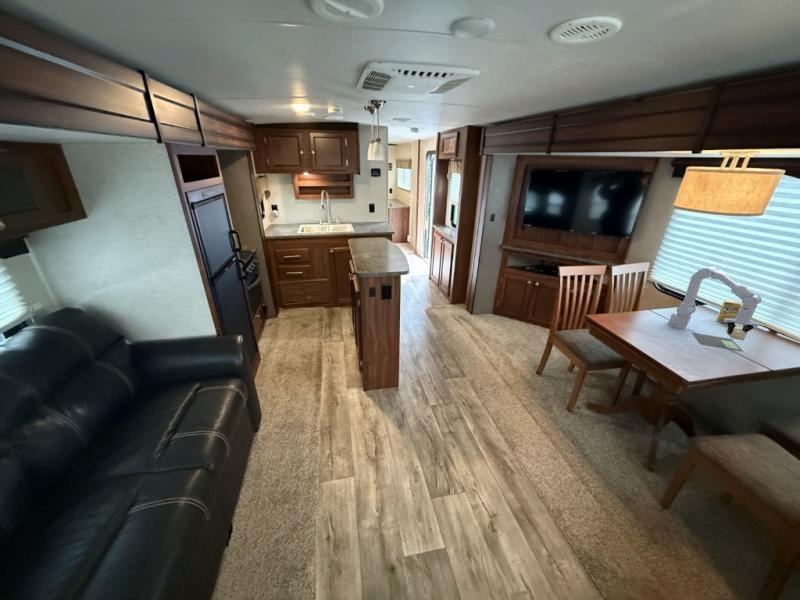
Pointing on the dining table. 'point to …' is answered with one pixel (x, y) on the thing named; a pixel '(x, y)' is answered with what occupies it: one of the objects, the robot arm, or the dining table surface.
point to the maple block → (737, 333)
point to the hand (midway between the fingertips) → (735, 334)
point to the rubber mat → (717, 342)
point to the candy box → (728, 310)
